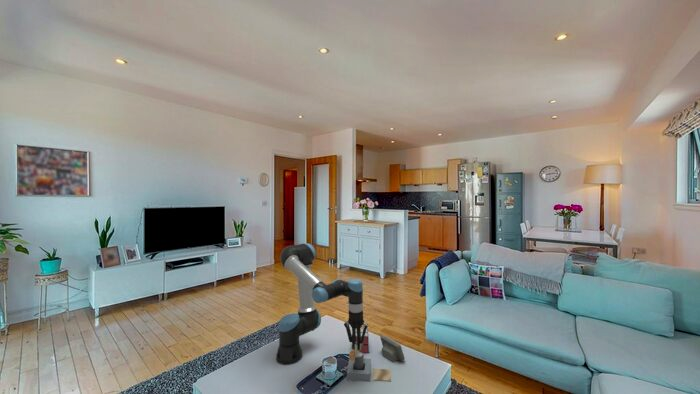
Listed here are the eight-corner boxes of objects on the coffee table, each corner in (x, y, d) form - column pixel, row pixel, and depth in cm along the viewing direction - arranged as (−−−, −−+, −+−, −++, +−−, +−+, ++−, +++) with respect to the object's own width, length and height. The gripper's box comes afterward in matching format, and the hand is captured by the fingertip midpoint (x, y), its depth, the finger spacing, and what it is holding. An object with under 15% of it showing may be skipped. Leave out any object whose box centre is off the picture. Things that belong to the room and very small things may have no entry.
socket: (346, 379, 140) (346, 359, 140) (349, 363, 154) (349, 345, 154) (370, 381, 139) (370, 360, 139) (370, 365, 152) (370, 346, 152)
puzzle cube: (368, 353, 164) (368, 336, 164) (352, 353, 165) (351, 336, 165) (367, 344, 174) (367, 328, 174) (352, 344, 175) (352, 328, 175)
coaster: (373, 380, 139) (373, 379, 139) (373, 369, 148) (373, 368, 148) (390, 381, 138) (390, 380, 138) (390, 370, 147) (390, 369, 147)
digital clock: (406, 362, 155) (406, 343, 155) (392, 366, 151) (392, 347, 151) (390, 348, 170) (390, 330, 170) (377, 351, 166) (377, 334, 166)
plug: (354, 375, 143) (354, 356, 143) (355, 369, 148) (355, 351, 148) (363, 376, 143) (363, 356, 143) (363, 370, 148) (363, 351, 148)
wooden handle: (348, 359, 140) (348, 353, 140) (357, 345, 154) (357, 339, 154) (354, 361, 139) (354, 354, 139) (363, 346, 153) (363, 340, 153)
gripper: (369, 308, 144) (370, 353, 143) (346, 306, 147) (346, 350, 147) (366, 314, 137) (367, 361, 136) (342, 312, 140) (342, 358, 140)
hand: (356, 355), depth 142 cm, fingers closed
